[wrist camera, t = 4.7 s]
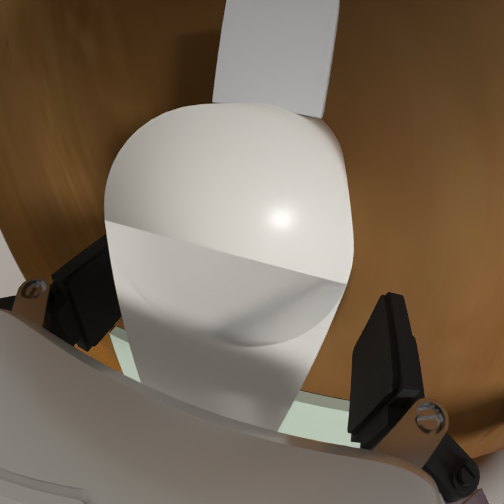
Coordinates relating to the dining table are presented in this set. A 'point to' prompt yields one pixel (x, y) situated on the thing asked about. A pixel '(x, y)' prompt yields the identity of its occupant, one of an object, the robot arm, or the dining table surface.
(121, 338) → the green board
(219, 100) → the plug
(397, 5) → the dining table surface
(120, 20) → the dining table surface
